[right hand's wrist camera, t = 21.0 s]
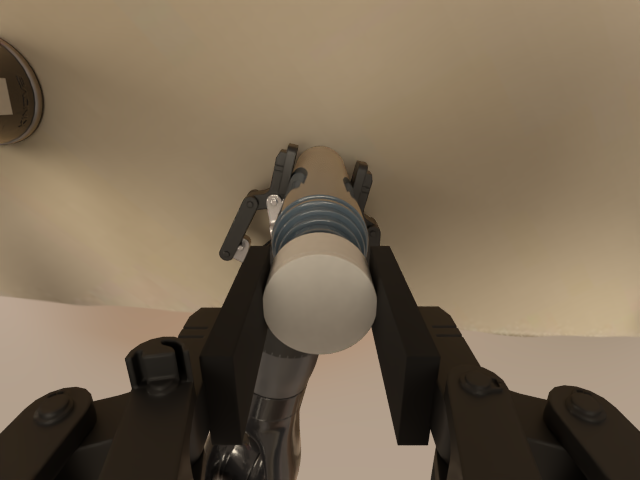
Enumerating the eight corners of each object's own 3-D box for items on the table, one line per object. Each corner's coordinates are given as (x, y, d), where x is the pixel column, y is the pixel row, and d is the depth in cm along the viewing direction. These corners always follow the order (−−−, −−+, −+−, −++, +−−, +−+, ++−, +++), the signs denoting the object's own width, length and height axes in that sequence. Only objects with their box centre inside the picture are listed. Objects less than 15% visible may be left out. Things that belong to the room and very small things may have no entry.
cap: (352, 218, 14) (357, 238, 12) (381, 305, 15) (390, 337, 13) (254, 250, 14) (243, 275, 12) (291, 332, 16) (286, 367, 14)
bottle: (284, 173, 36) (224, 303, 13) (317, 135, 34) (313, 206, 12) (321, 205, 37) (324, 374, 14) (355, 169, 36) (415, 293, 13)
